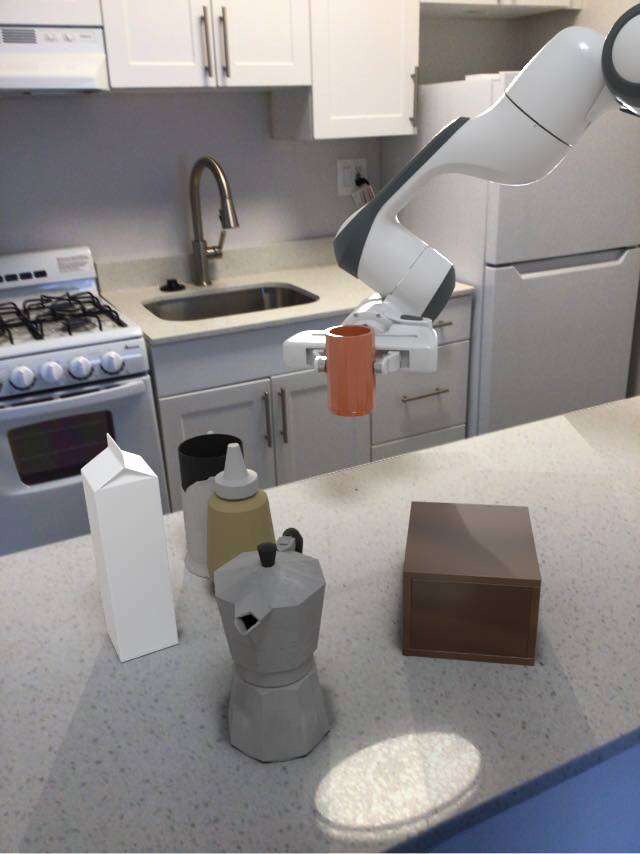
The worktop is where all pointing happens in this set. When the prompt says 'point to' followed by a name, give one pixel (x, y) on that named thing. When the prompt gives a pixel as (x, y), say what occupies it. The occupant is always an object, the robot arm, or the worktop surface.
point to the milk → (130, 552)
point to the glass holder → (200, 490)
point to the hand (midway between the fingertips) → (349, 368)
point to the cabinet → (470, 583)
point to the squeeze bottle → (236, 513)
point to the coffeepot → (273, 648)
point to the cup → (350, 370)
